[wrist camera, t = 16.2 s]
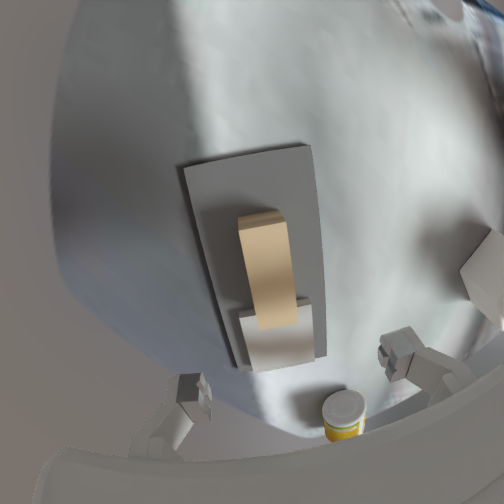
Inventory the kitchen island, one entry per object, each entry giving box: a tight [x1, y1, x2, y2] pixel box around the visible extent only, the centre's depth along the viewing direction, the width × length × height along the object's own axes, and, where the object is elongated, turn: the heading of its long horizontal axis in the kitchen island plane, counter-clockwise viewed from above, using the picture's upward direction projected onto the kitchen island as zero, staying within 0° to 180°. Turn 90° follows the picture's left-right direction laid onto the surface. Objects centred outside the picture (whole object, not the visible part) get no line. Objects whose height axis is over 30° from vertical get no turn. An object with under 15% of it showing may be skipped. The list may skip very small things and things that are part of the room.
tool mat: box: [183, 145, 327, 373], centre depth 22 cm, size 20×9×1 cm, turn 10°
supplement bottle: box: [322, 390, 366, 443], centre depth 29 cm, size 5×5×10 cm
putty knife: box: [238, 210, 315, 373], centre depth 22 cm, size 15×6×3 cm, turn 10°
